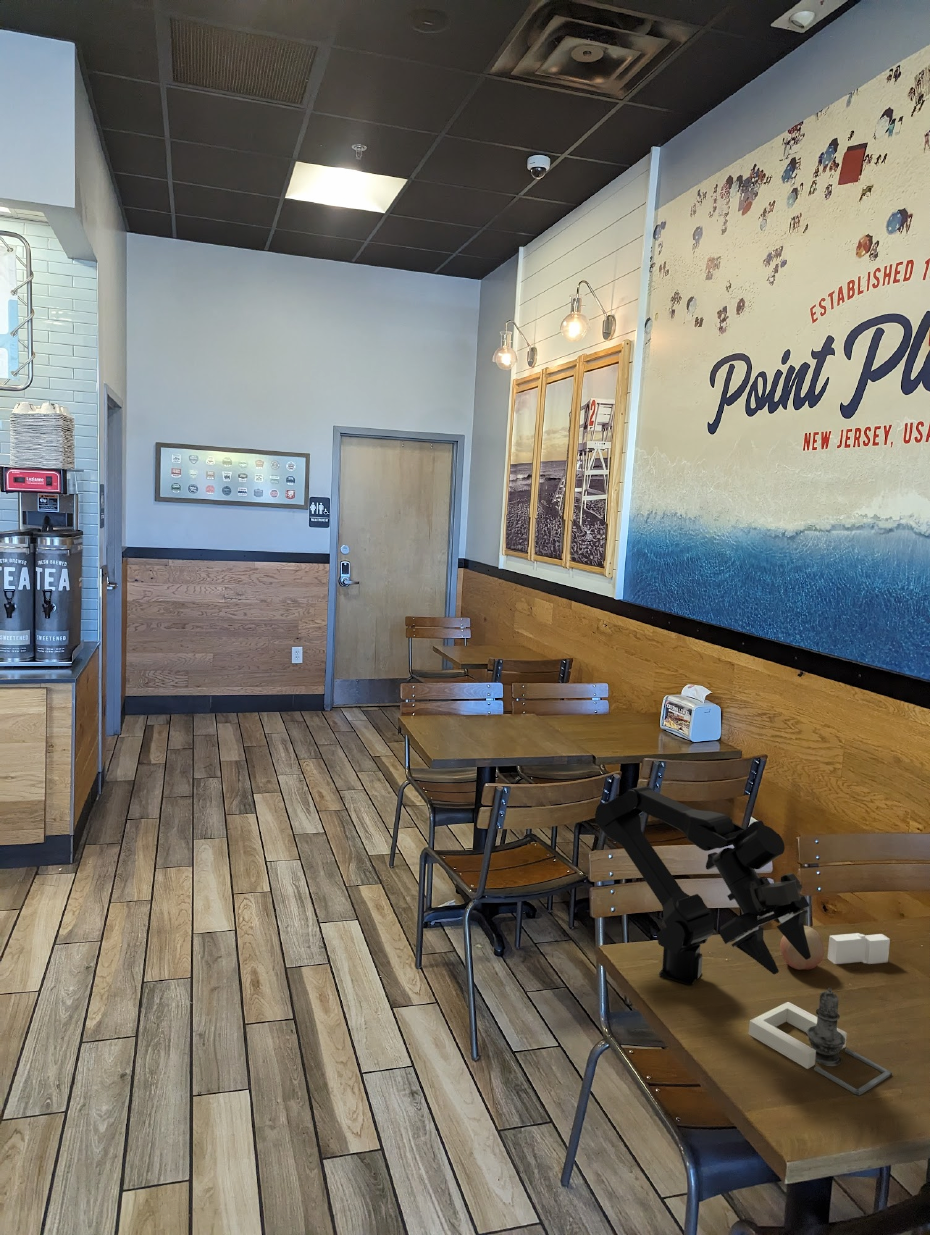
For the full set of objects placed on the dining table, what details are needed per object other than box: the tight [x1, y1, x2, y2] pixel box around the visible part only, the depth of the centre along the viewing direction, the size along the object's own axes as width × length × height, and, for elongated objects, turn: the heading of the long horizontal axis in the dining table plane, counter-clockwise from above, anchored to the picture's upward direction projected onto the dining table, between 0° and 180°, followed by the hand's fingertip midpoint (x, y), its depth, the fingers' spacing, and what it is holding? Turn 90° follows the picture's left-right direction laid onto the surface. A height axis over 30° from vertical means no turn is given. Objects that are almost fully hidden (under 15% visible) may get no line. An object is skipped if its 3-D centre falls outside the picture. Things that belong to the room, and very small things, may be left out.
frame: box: [813, 1047, 893, 1097], centre depth 139 cm, size 8×10×1 cm
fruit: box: [779, 925, 825, 971], centre depth 172 cm, size 8×8×8 cm
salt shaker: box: [806, 987, 845, 1067], centre depth 142 cm, size 6×6×12 cm
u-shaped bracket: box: [748, 1001, 848, 1070], centre depth 147 cm, size 11×11×2 cm
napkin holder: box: [827, 932, 891, 965], centre depth 175 cm, size 15×11×6 cm
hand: (792, 965), depth 147 cm, fingers open, 9 cm apart
